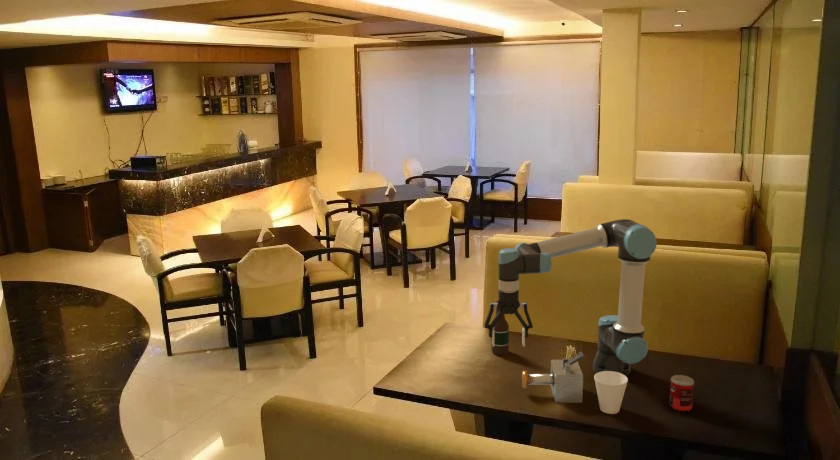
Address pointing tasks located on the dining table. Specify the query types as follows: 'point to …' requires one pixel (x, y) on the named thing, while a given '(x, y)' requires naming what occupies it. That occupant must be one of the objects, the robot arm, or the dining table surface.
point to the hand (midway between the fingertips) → (508, 345)
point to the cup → (610, 390)
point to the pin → (536, 379)
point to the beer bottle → (500, 336)
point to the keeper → (575, 358)
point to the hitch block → (567, 381)
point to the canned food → (681, 392)
